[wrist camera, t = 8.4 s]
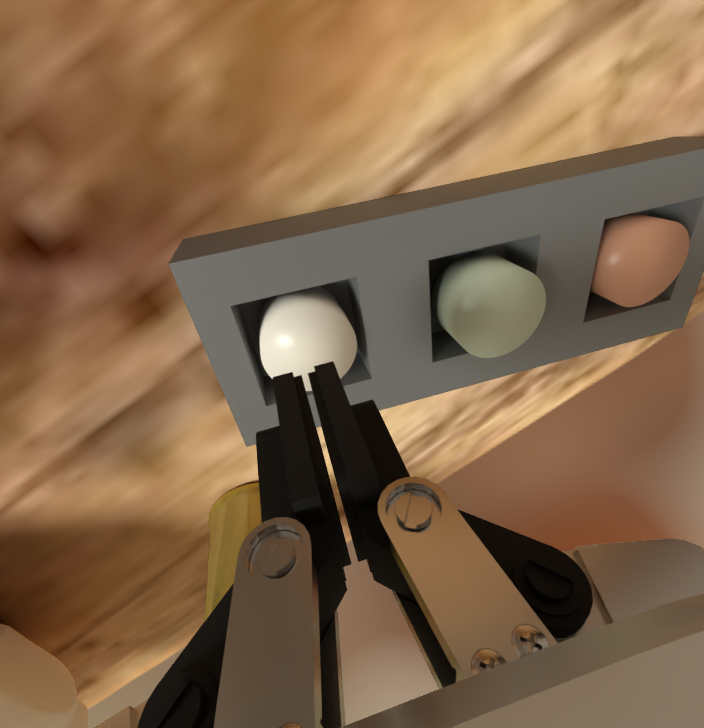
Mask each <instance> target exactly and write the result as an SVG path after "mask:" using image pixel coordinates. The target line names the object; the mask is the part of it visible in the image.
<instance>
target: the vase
mask: <svg viewBox="0 0 704 728" xmlns="http://www.w3.org/2000/svg"><path fill="white" fill-rule="evenodd" d="M261 523H262V520H261V505H260V491H259V483H252V484H247V485H243V486H240V487H237V488H235V489H233V490H231V491H229V492H227V493H226V494H224V495H223V496H222V497H220V498H219V499H218V500H217V501H216V503H215V504H214V505H213V507H212V509H211V511H210V515H209V530H210V545H209V557H208V580H207V596H206V607H205V621H206V619H207V618H208V617H209V615H210V614H211V613H212V611H213V610H214V609H215V607H216V606H217V605H218V603H219V602H220V601H221V599H222V598H223V597H224V595H225V594H226V592H227V591H228V590H229V588H230V587H231V586H232V584H233V583H234V578H235V571H236V564H237V557H238V554H239V550H240V547H241V545H242V543H243V542H244V540H245V538H246V537H247V535H248V534H249V533H250V532H251V531H252V530H253V529H254V528H255V527H257V526H258V525H260V524H261Z"/></svg>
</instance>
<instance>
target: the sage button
mask: <svg viewBox="0 0 704 728" xmlns="http://www.w3.org/2000/svg"><path fill="white" fill-rule="evenodd" d="M545 305H546V293H545V289H544V286H543V284H542V282H541V280H540V279H539V278H538V277H537V276H536V275H535V274H533V273H532V272H530V271H528V270H526V269H524V268H522V267H520V266H518V265H516V264H514V263H512V262H510V261H508V260H506V259H504V258H502V257H500V256H498V255H496V254H494V253H491V252H487V251H475V252H470V253H467V254H465V255H462V256H460V257H459V258H457V259H455V260H454V261H453V262H451V263H450V264H449V265H448V266H447V267H446V268H445V269H444V271H443V272H442V273H441V275H440V276H439V278H438V279H437V281H436V283H435V286H434V289H433V292H432V298H431V306H432V311H433V314H434V317H435V319H436V320H437V322H438V323H439V324H440V325H441V326H442V327H443V328H444V329H445V330H446V331H447V332H448V333H449V334H450V335H451V336H452V337H453V338H454V339H455V340H456V341H457V342H458V343H459V344H460V345H461V346H462V347H463V348H464V349H465V350H466V351H467V352H468V353H470V354H472V355H474V356H476V357H480V358H494V357H499V356H502V355H505V354H507V353H509V352H511V351H513V350H515V349H516V348H518V347H519V346H520V345H522V344H523V343H524V342H525V341H526V340H527V339H528V338H529V337H530V336H531V335H532V334H533V332H534V331H535V330H536V328H537V327H538V325H539V323H540V321H541V319H542V317H543V314H544V310H545Z"/></svg>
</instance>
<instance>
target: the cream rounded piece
mask: <svg viewBox="0 0 704 728" xmlns="http://www.w3.org/2000/svg"><path fill="white" fill-rule="evenodd" d="M259 340H260V355H261V361H262V364H263V367H264V369H265V370H266V372H267V374H268V375H269V376H270V377H271V378H272V379H273V377H275V376H279V375H283V374H286V373H290V372H293V375H294V377H296V376H300V375H302V379H303V382H304V386H305V390H306V391H312V388H311V384H310V380H309V376H308V373H311V372H315V369H314V366H317V365H320V364H324V363H328V362H332V361H333V362H334V364H335V367H336V369H337V372H338V375H339V377H340V379H341V378H342V377H343V376H344V375H345V374H346V373H347V372H348V370H349V369H350V367H351V366H352V364H353V362H354V359H355V356H356V352H357V340H356V335H355V333H354V330H353V328H352V326H351V324H350V322H349V320H348V319H347V317H346V315H345V313H344V311H343V309H342V307H341V305H340V304H339V302H338V300H337V299H336V298H335V297H334V296H333V295H332V294H331V293H330V292H328V291H327V290H325V289H324V288H322V287H319V286H315V287H311V288H307V289H302V290H298V291H294V292H289V293H285V294H281V295H276V296H272V297H270V298H269V299H268V300H267V301H266V303H265V304H264V306H263V308H262V310H261V313H260V317H259Z"/></svg>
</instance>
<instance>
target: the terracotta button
mask: <svg viewBox="0 0 704 728" xmlns="http://www.w3.org/2000/svg"><path fill="white" fill-rule="evenodd" d="M689 242H690V241H689V235H688V232H687V230H686V228H685V227H684V226H683V225H682V224H681V223H678V222H675V221H671V220H666V219H661V218H657V217H652V216H647V215H643V214H638V213H631V214H626V215H622V216H618V217H613V218H609V219H605V220H604V225H603V230H602V234H601V239H600V244H599V249H598V254H597V258H596V263H595V268H594V273H593V278H592V282H591V287H590V291H591V292H593V293H595V294H597V295H599V296H602V297H604V298H606V299H608V300H610V301H612V302H614V303H616V304H619V305H621V306H624V307H635V306H639V305H642V304H645V303H647V302H649V301H651V300H652V299H654V298H655V297H657V296H658V295H659V294H661V293H662V292H663V291H664V290H665V289H666V288H667V287H668V286H669V285H670V284H671V283H672V282H673V281H674V279H675V278H676V277H677V275H678V274H679V272H680V270H681V269H682V267H683V265H684V263H685V260H686V258H687V255H688V251H689Z"/></svg>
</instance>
